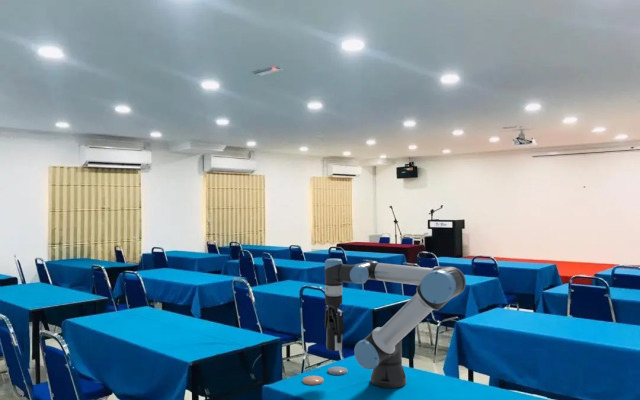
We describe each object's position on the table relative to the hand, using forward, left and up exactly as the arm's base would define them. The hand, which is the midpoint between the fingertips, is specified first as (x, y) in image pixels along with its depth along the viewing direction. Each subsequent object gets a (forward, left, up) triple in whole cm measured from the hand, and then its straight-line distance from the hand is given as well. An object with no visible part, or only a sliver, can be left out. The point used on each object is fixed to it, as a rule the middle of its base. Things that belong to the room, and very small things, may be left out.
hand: (334, 347), depth 211 cm
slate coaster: (+11, -7, -15) cm, 20 cm away
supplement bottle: (0, 0, -1) cm, 1 cm away
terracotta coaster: (+5, +8, -15) cm, 18 cm away
